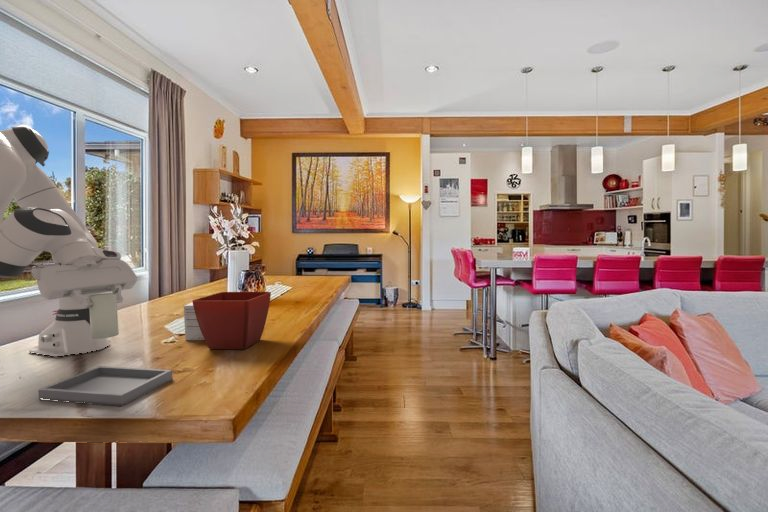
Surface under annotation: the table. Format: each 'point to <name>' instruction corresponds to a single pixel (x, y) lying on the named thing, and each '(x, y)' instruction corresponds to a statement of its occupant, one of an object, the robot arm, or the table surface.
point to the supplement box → (191, 324)
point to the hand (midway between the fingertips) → (104, 304)
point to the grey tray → (107, 385)
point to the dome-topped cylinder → (104, 316)
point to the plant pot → (232, 318)
